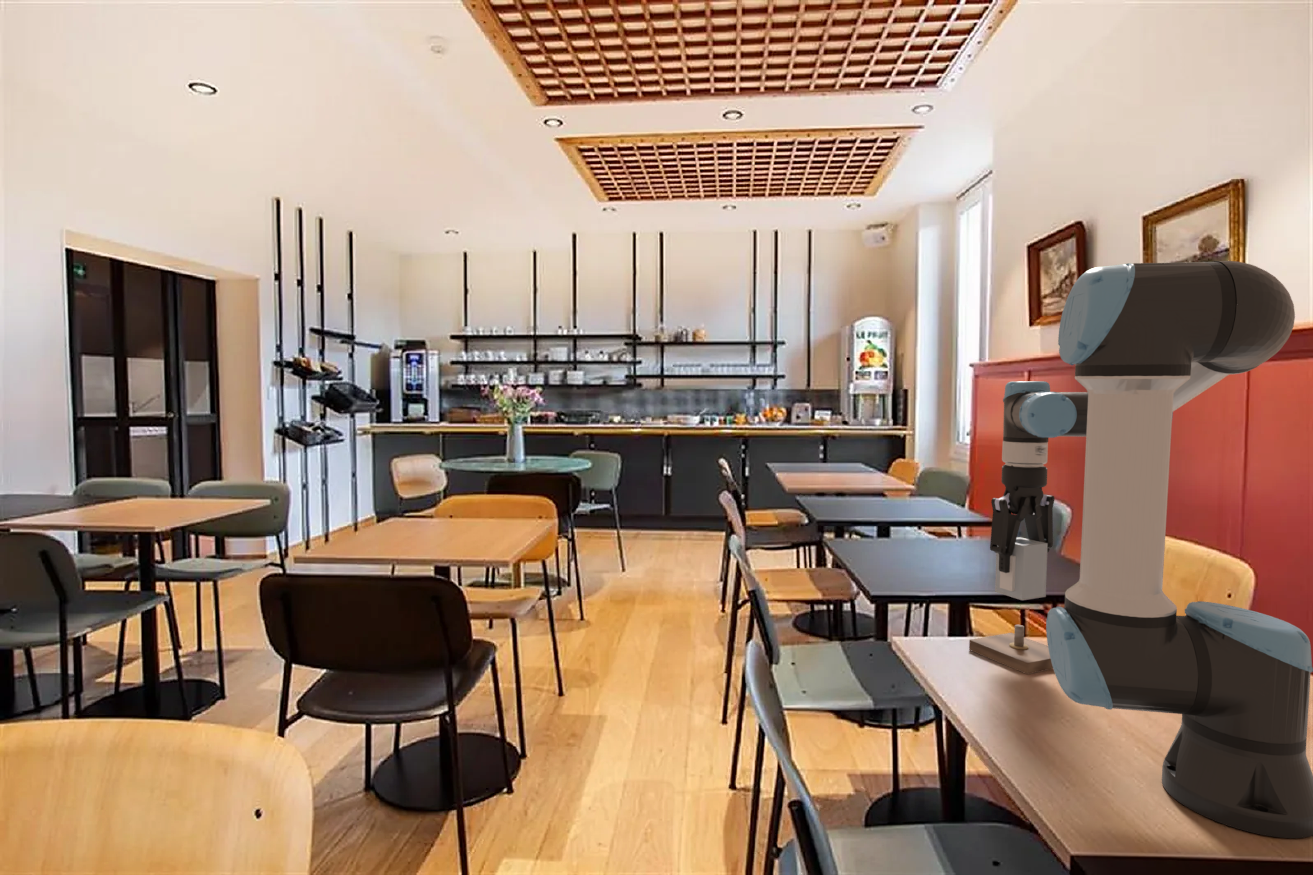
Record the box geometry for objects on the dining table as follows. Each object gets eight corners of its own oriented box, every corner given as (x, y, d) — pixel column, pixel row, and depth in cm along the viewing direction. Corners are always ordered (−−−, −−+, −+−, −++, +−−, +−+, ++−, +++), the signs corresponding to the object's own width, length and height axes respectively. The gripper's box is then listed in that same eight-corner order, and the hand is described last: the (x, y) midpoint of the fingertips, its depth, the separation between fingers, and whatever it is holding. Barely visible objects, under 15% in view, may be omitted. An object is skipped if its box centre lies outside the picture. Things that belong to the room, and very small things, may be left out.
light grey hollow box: (1022, 600, 130) (1023, 546, 129) (995, 591, 135) (996, 539, 135) (1045, 596, 132) (1047, 543, 132) (1018, 588, 138) (1019, 537, 137)
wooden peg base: (1027, 674, 126) (1028, 640, 126) (969, 650, 138) (970, 619, 138) (1070, 665, 130) (1071, 632, 130) (1010, 642, 142) (1011, 612, 142)
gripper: (1003, 468, 125) (999, 598, 127) (1079, 464, 132) (1074, 587, 134) (969, 464, 132) (966, 587, 134) (1043, 460, 139) (1039, 577, 141)
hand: (1020, 587), depth 134 cm, fingers closed on light grey hollow box, 6 cm apart
